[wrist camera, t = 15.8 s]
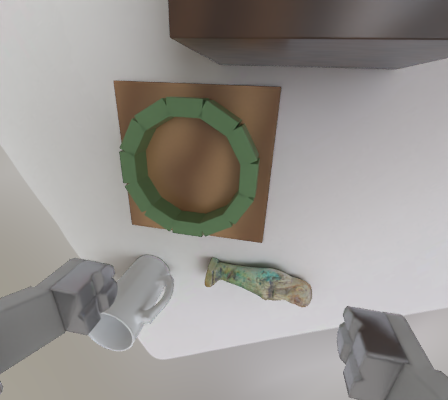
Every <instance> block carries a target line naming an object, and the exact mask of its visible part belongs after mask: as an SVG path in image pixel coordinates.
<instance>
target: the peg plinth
mask: <svg viewBox="0 0 448 400" xmlns="http://www.w3.org/2000/svg"><path fill="white" fill-rule="evenodd" d="M168 4H169V28H170V38H172V39H174V40H175V41H177V42H179V43H181V44H183V45H185V46H186V47H188V48H190V49H192V50H194V51H196V52H198V53H199V54H201V55H203V56H205V57H207V58H209V59H210V60H212V61H214V62H216V63H218V64H220V65H254V66H295V67H336V68H376V69H399V68H404V67H408V66H413V65H417V64H422V63H427V62H431V61H436V60H440V59H445V58H448V0H168Z"/></svg>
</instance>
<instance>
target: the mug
mask: <svg viewBox="0 0 448 400" xmlns="http://www.w3.org/2000/svg"><path fill="white" fill-rule="evenodd" d="M117 286H118V291H117V296H116V298H115V301H114V303H113V304H112V305H111V307H110V308H109V309H108V310H106V311H104V312H102V313H101V319H100V321H99V322H98V323H97V324H96V326H95V327H94V328H93V329H92V331H91V332H90V333H89V334H88V335H89V337H90V338H91V339H92V340H93V341H94V342H96V343H97V344H99V345H100V346H102V347H104V348H106V349H109V350H113V351H125V350H127V349H129V348H130V347H131V346H132V345H133V343H134V341H135V339H136V338H137V336H138V334H139V333H140V331H141V329H142V327H143V325H144V323H149V324H151V323H152V321H153V319H154V318H155V317H156V316H157V315H158V314H159V313H160V312H161V311H162V310H163V308H164V307H165V306H166V305H167V303H168V302H169V300H170V298H171V296H172V293H173V287H174V279H173V277H172V275H169V269H168V267H167V265H166V264H165V263H164V262H163V261H162V260H161V259H159V258H158V257H155V256H152V255H144V256H141V257H139V258H138V259H137V260H136V261H135V262H134V263H133V265H132V266H131V267H130V268H129V269H128V270H127V271H126V272H125V273H124V274H123V276H122V277H121V278H120V279H119V280H118V281H117ZM165 286H166V290H165V293H164V295H163V297H162V299H161V300H160V301H159V302H158V303H157V304H156V305H155V303H156V301H157V300H158V298H159V296H160V294H161V292H162V291H163V289H164V287H165ZM154 305H155V306H154Z"/></svg>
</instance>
